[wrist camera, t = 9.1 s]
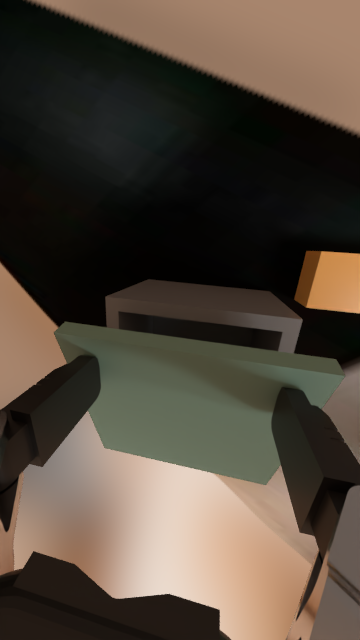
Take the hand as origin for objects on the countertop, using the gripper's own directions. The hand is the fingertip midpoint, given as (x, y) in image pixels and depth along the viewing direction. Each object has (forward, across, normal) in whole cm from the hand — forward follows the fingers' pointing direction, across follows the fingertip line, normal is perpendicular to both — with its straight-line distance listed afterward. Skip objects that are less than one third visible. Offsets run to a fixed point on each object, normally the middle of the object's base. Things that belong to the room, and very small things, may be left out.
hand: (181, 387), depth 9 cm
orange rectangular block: (+12, -12, -4) cm, 17 cm away
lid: (+2, 0, +3) cm, 4 cm away
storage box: (+12, 0, +3) cm, 12 cm away
